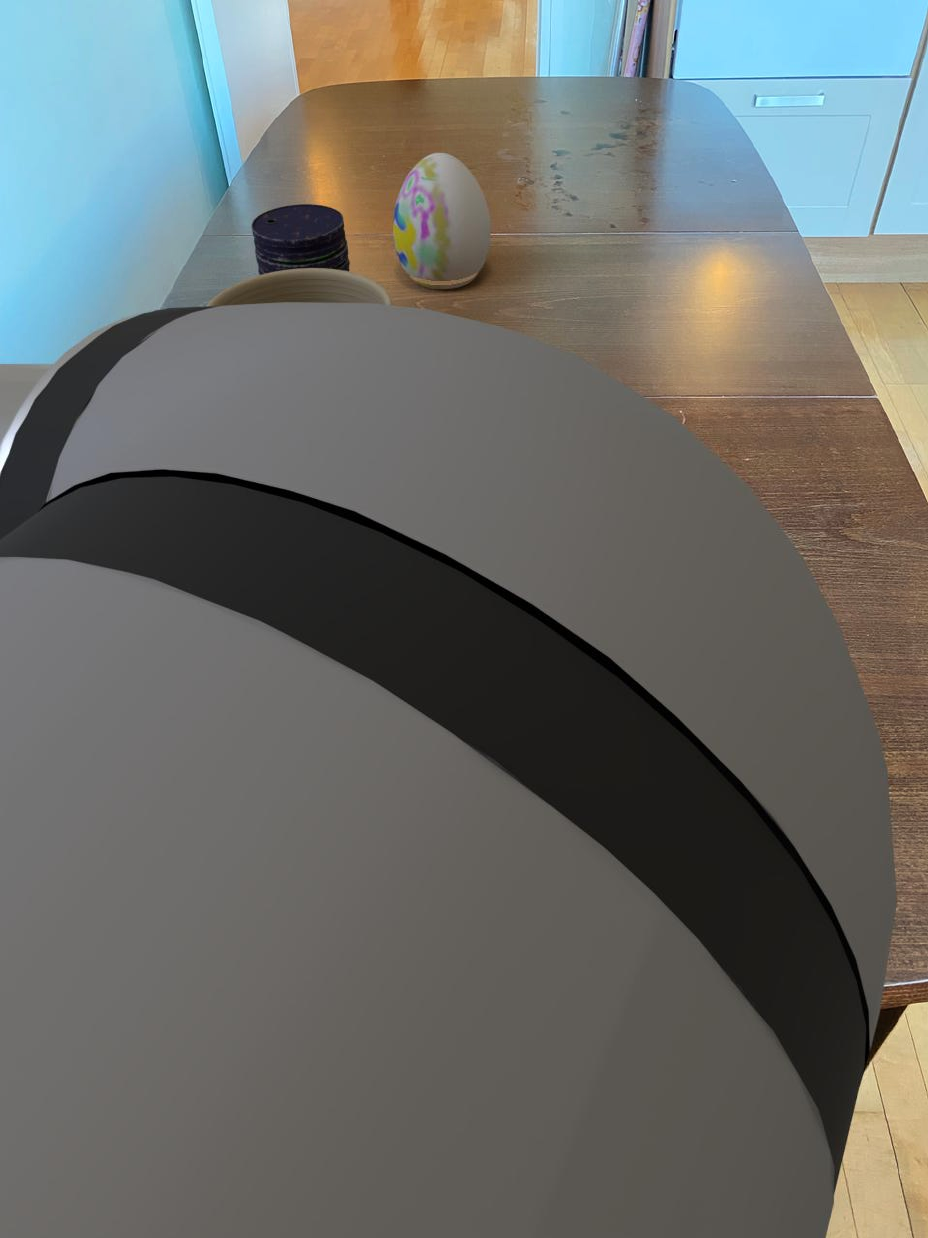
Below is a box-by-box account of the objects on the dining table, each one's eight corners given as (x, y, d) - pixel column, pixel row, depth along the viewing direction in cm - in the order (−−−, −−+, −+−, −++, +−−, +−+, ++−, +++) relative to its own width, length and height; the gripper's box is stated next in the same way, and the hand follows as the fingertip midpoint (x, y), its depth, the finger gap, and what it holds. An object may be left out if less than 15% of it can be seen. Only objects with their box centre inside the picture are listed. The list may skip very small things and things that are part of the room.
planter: (390, 398, 102) (377, 258, 91) (418, 489, 90) (407, 340, 79) (231, 419, 100) (199, 278, 89) (238, 516, 88) (202, 366, 77)
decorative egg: (383, 268, 126) (372, 147, 115) (466, 249, 129) (463, 131, 119) (418, 305, 117) (411, 179, 107) (507, 284, 121) (507, 160, 111)
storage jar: (366, 332, 113) (352, 204, 102) (351, 374, 106) (335, 241, 95) (284, 330, 114) (263, 203, 103) (264, 372, 107) (238, 239, 96)
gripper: (-207, 674, 46) (248, 544, 53) (-246, 1069, 33) (375, 830, 39) (-297, 557, 41) (220, 428, 47) (-387, 969, 28) (355, 711, 34)
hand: (289, 610), depth 43 cm, fingers open, 8 cm apart
